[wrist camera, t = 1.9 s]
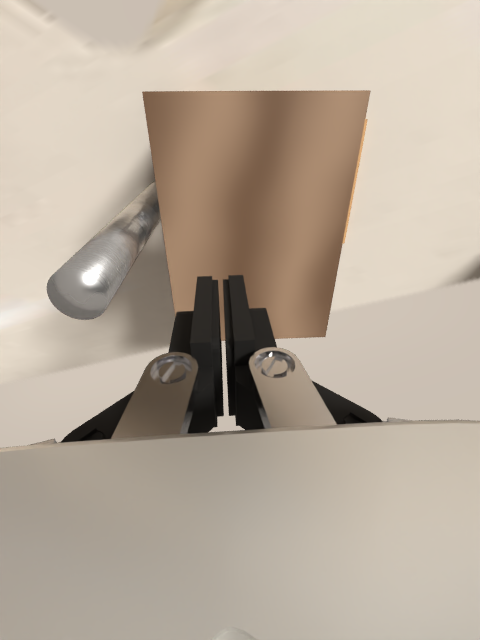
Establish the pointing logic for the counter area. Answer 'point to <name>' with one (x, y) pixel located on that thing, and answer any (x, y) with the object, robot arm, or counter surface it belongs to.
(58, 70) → the counter surface
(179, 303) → the walnut tunnel
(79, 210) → the counter surface
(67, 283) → the grey metal post stand
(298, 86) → the counter surface
